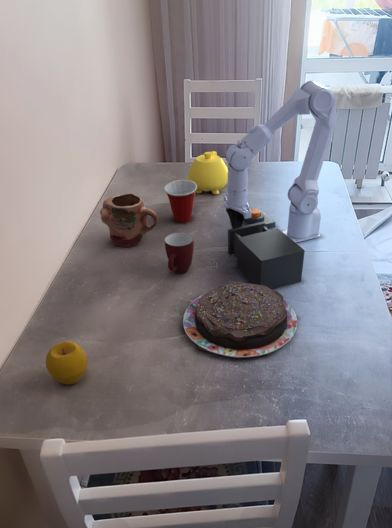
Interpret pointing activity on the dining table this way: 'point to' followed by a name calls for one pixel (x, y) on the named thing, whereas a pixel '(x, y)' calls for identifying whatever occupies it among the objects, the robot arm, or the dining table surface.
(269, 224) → the control block
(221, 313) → the chocolate cake
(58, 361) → the apple
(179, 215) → the plastic cup
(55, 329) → the dining table surface
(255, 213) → the button
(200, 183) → the teapot
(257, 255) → the black block
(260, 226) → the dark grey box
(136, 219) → the brown clay mug
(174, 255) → the mug
